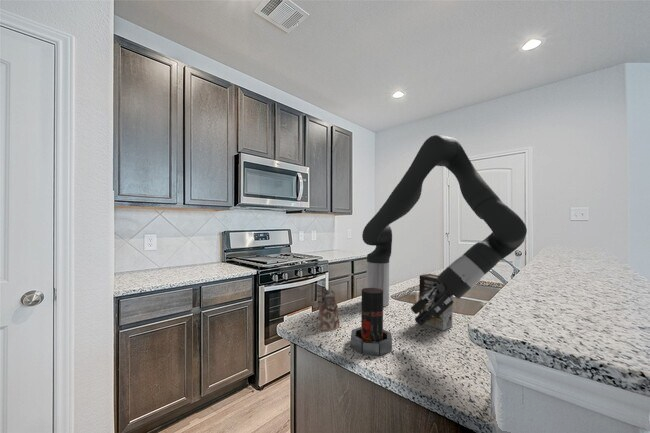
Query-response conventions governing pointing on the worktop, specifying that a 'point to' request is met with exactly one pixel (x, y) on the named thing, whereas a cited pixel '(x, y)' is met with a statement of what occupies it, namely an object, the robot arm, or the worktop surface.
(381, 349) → the collar ring
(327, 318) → the figurine
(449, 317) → the coffee box
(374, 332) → the deodorant
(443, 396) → the worktop surface
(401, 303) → the worktop surface
